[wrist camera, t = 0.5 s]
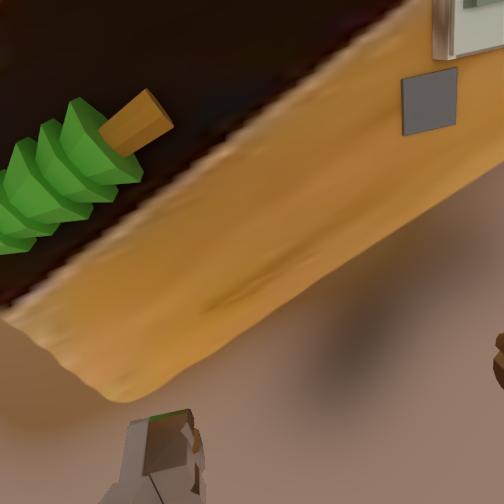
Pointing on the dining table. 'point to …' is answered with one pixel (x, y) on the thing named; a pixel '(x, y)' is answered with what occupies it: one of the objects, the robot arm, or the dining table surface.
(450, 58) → the sliding lid box
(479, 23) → the sliding lid panel
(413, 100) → the slate tile
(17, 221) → the decorative tree
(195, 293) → the dining table surface
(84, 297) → the dining table surface
